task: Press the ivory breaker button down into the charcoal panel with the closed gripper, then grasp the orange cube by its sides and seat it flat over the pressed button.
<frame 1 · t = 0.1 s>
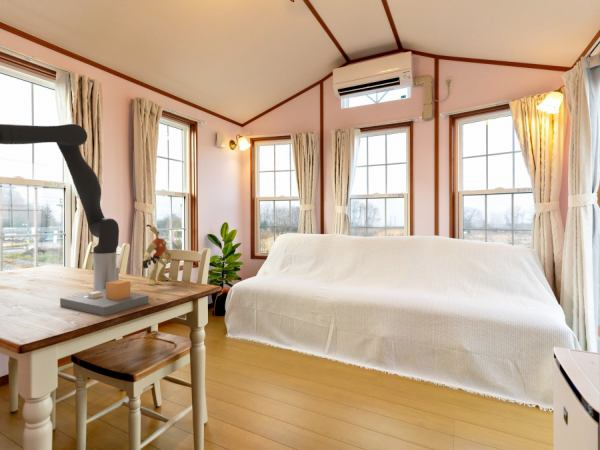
panel: (105, 304, 125), on the table
button: (95, 296, 124), point 3 cm above the table, slide at 0.0 cm
orange cube: (118, 297, 125), point 3 cm above the table, touching panel
toy: (156, 283, 164), on the table
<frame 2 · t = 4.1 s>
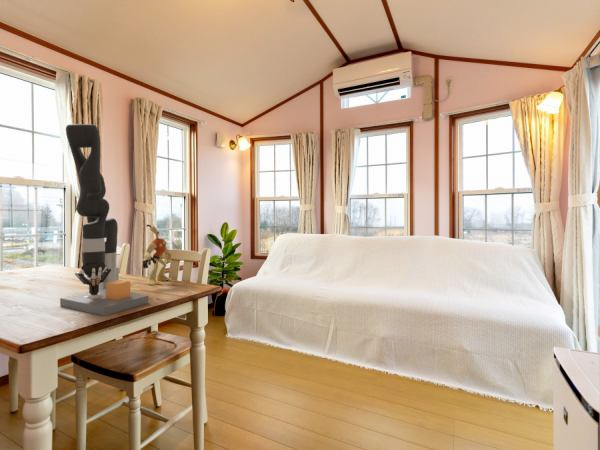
hand: (94, 294, 124), 4 cm above the table, fingers closed
button: (95, 298, 124), point 3 cm above the table, slide at 0.7 cm, touching gripper
everything else where it was.
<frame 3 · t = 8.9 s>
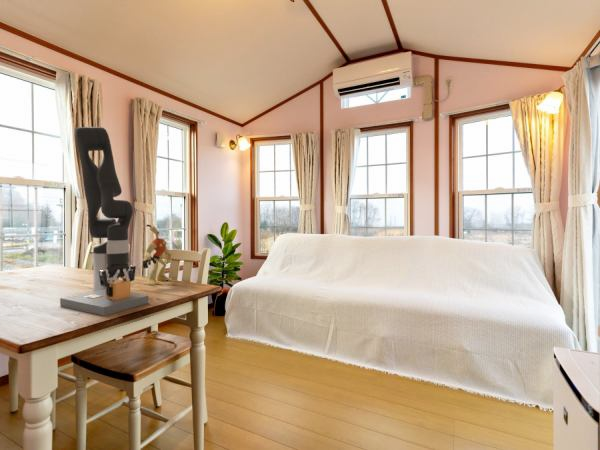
hand: (118, 294, 125), 4 cm above the table, fingers closed on orange cube, 6 cm apart
button: (95, 300, 125), point 2 cm above the table, slide at 1.5 cm
orange cube: (118, 297, 125), point 3 cm above the table, touching gripper, panel
everything else where it was.
when the fingers open (5 cm above the table, at t = 15.2 s): orange cube stays where it is, resting on panel.
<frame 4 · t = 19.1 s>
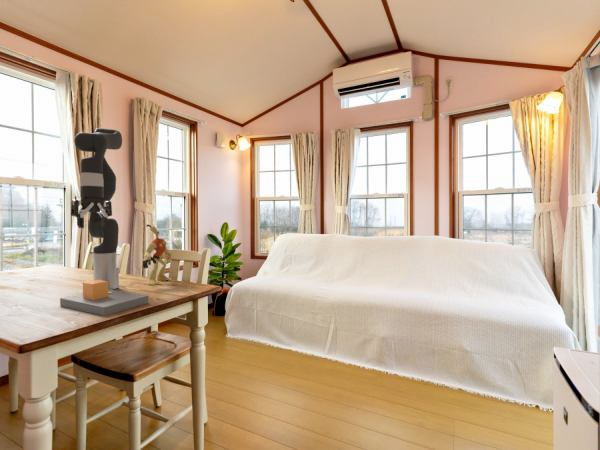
hand: (92, 227, 124), 30 cm above the table, fingers open, 8 cm apart
orange cube: (95, 297, 124), point 3 cm above the table, touching panel
everything else where it was.
at the end: button slide at 1.5 cm; orange cube 0.3 cm from the target spot, point 3.0 cm above the table; orange cube tilted 0° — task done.
